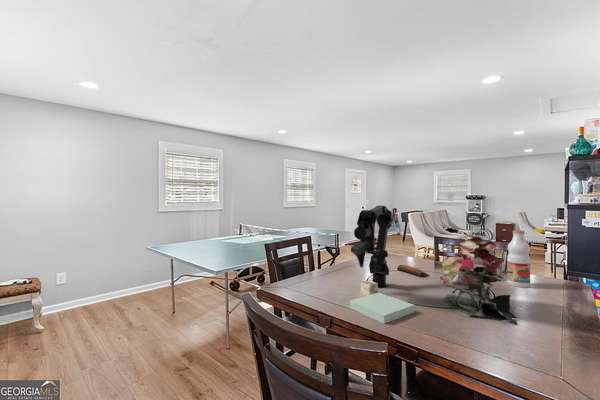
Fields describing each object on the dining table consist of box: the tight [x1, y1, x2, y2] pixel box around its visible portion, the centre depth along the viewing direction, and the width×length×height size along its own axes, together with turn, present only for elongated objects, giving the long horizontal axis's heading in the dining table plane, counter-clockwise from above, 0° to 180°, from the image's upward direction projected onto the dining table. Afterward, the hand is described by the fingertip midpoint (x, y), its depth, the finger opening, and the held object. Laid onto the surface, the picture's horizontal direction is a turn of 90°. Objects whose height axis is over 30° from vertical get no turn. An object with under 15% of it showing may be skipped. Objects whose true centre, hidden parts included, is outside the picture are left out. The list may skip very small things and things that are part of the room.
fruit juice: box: [506, 229, 531, 289], centre depth 147 cm, size 9×9×28 cm
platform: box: [349, 292, 415, 324], centre depth 117 cm, size 18×18×3 cm
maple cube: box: [360, 280, 379, 296], centre depth 136 cm, size 6×6×6 cm
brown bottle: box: [396, 264, 430, 278], centre depth 172 cm, size 18×7×7 cm
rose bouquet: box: [439, 235, 518, 326], centre depth 118 cm, size 26×29×30 cm
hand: (368, 269), depth 136 cm, fingers open, 9 cm apart
